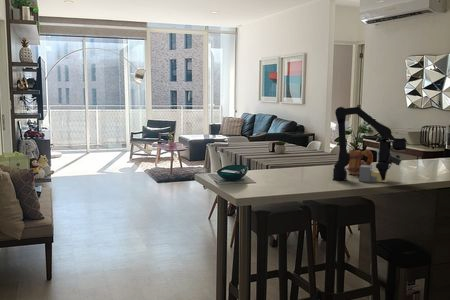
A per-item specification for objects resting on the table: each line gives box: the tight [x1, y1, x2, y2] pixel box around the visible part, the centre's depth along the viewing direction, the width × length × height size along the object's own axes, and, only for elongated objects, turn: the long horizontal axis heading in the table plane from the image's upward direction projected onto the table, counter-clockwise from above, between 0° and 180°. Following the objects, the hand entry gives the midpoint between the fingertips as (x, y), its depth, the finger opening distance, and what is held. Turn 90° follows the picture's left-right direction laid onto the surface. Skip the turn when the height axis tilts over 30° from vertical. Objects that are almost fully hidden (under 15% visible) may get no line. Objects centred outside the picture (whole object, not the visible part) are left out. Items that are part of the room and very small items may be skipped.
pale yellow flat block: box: [371, 170, 388, 183], centre depth 237 cm, size 11×2×5 cm, turn 64°
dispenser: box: [358, 164, 377, 183], centre depth 239 cm, size 8×8×8 cm
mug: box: [346, 148, 374, 176], centre depth 257 cm, size 15×8×15 cm, turn 62°
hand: (383, 179), depth 236 cm, fingers closed on pale yellow flat block, 2 cm apart
